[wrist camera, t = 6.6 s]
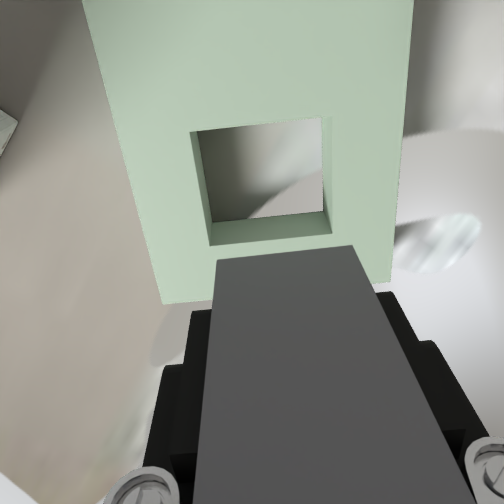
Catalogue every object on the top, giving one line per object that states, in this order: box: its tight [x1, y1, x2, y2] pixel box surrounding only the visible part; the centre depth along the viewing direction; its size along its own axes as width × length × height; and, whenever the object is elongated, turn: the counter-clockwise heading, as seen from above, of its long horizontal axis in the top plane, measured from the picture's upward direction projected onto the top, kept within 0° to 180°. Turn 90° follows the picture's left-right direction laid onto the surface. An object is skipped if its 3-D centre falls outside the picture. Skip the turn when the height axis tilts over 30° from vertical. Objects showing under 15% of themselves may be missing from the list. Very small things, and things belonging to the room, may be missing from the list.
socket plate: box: [82, 0, 414, 304], centre depth 22 cm, size 20×14×3 cm
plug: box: [193, 245, 476, 504], centre depth 9 cm, size 4×4×7 cm
